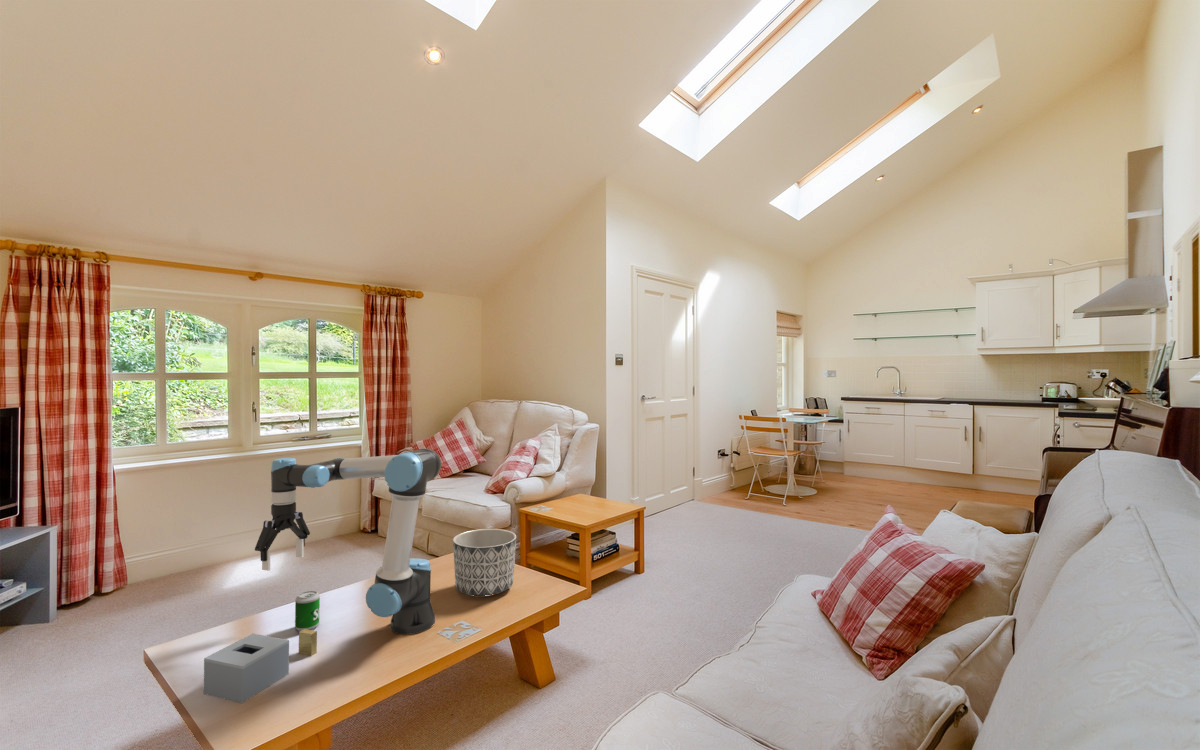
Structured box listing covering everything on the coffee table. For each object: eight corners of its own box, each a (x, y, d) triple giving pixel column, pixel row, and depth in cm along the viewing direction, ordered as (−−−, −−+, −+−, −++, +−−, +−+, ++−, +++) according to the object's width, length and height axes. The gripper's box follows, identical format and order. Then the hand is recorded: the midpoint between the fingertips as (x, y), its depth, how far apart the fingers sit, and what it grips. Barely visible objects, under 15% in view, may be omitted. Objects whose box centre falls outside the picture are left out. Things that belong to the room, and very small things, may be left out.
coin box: (288, 673, 159) (289, 640, 159) (242, 703, 144) (242, 666, 144) (252, 666, 163) (252, 633, 163) (203, 694, 148) (204, 658, 148)
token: (316, 652, 171) (316, 631, 171) (311, 656, 169) (311, 634, 169) (304, 650, 172) (304, 629, 172) (298, 653, 170) (298, 632, 170)
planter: (467, 576, 237) (467, 527, 237) (523, 579, 234) (523, 530, 234) (441, 600, 211) (442, 545, 211) (504, 605, 208) (505, 549, 208)
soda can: (308, 634, 183) (309, 599, 183) (289, 632, 184) (290, 597, 184) (324, 624, 190) (324, 590, 190) (306, 622, 192) (306, 589, 192)
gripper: (304, 494, 199) (304, 551, 199) (242, 510, 175) (242, 574, 175) (320, 495, 197) (320, 553, 197) (259, 512, 173) (259, 577, 173)
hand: (283, 563), depth 186 cm, fingers open, 13 cm apart
